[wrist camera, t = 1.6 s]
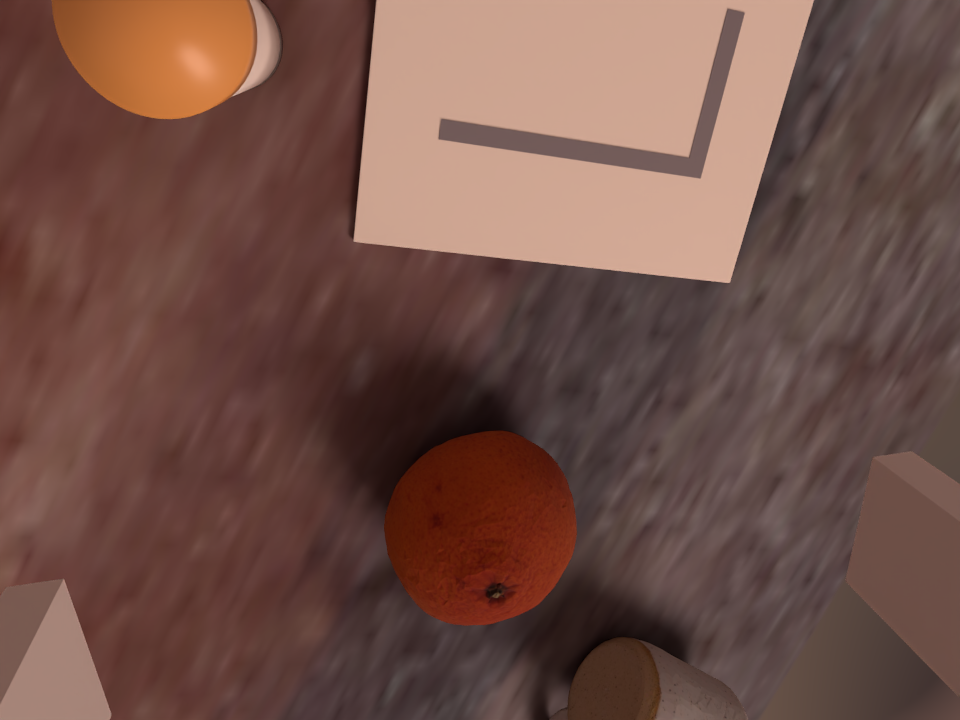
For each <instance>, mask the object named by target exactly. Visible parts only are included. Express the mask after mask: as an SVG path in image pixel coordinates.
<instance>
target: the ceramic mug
mask: <svg viewBox="0 0 960 720" xmlns="http://www.w3.org/2000/svg"><path fill="white" fill-rule="evenodd" d="M549 720H748V718H747V715H746V713H745V710H744V708H743V706H742V705H741V703H740V701H739V699H738V698H737V696H736V695H735V694H734V693H733V691H732V690H731V689H730V688H729V687H728V686H726V685H725V684H724V683H723V682H721V681H720V680H718V679H716V678H714V677H712V676H710V675H708V674H706V673H704V672H702V671H701V670H699V669H697V668H695V667H693V666H691V665H690V664H688V663H686V662H684V661H682V660H680V659H678V658H676V657H674V656H672V655H670V654H669V653H667V652H665V651H664V650H662V649H661V648H659V647H656V646H654V645H652V644H650V643H648V642H645V641H641V640H638V639H634V638H628V637H616V638H613V639H610V640H608V641H605V642H603V643H601V644H600V645H598V646H597V647H596V648H595V649H593V650H592V651H591V652H590V653H589V654H588V655H587V657H586V658H585V659H584V660H583V662H582V663H581V665H580V666H579V668H578V670H577V672H576V674H575V676H574V678H573V681H572V684H571V688H570V692H569V697H568V707H566V708H564V709H561V710H559V711H558V712H557V713H555V714H554V715H553V716H551V718H550V719H549Z"/></svg>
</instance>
